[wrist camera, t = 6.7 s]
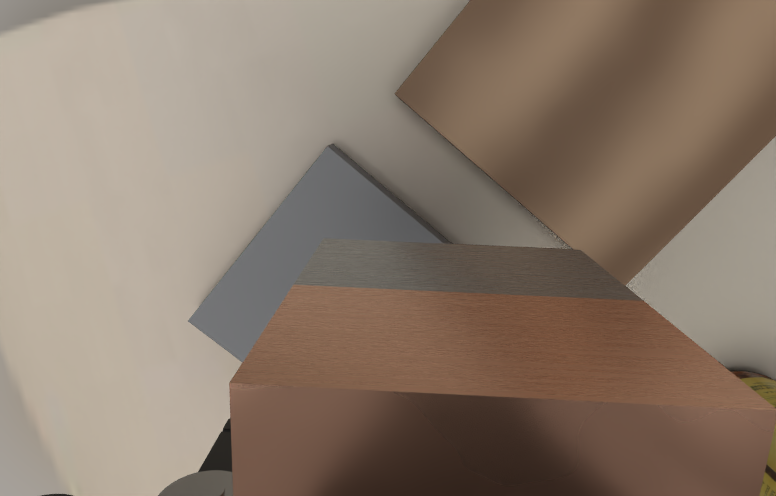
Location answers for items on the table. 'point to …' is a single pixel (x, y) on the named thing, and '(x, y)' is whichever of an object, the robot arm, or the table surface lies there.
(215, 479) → the robot arm
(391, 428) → the copper rectangular block
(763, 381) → the sauce bottle
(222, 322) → the rubber mat
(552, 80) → the walnut stand
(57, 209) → the table surface
